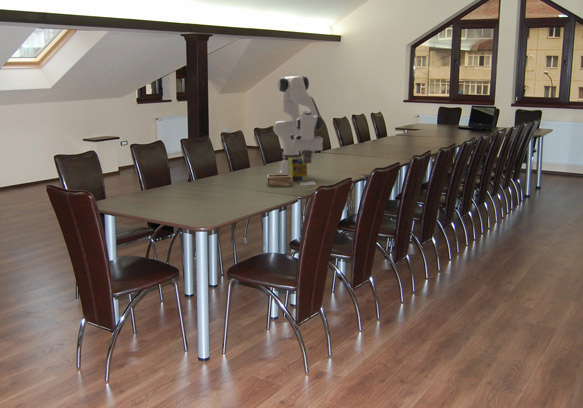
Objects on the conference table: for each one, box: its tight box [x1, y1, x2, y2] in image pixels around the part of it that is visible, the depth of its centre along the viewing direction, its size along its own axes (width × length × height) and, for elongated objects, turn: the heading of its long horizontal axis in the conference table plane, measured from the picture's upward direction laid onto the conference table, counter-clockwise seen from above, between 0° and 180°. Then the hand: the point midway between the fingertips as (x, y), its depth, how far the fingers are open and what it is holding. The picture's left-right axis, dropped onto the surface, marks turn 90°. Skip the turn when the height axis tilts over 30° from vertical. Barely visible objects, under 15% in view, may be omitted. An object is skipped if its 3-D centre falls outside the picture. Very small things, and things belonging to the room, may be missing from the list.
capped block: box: [302, 151, 312, 164], centre depth 426 cm, size 6×4×8 cm
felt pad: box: [298, 181, 317, 187], centre depth 430 cm, size 12×10×1 cm
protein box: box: [288, 156, 308, 182], centre depth 446 cm, size 10×15×16 cm
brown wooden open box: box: [266, 173, 292, 187], centre depth 428 cm, size 12×15×6 cm
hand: (307, 157), depth 426 cm, fingers closed on capped block, 4 cm apart
